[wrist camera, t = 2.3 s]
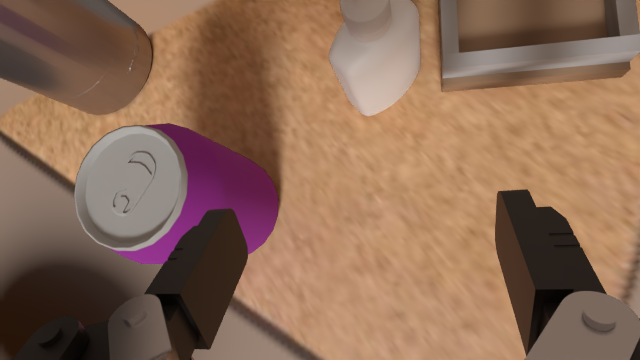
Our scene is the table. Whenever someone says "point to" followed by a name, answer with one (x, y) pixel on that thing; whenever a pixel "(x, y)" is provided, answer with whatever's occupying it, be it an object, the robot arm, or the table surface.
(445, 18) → the grey square tray
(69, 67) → the robot arm
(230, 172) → the beverage can
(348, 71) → the eye dropper bottle
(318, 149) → the table surface
